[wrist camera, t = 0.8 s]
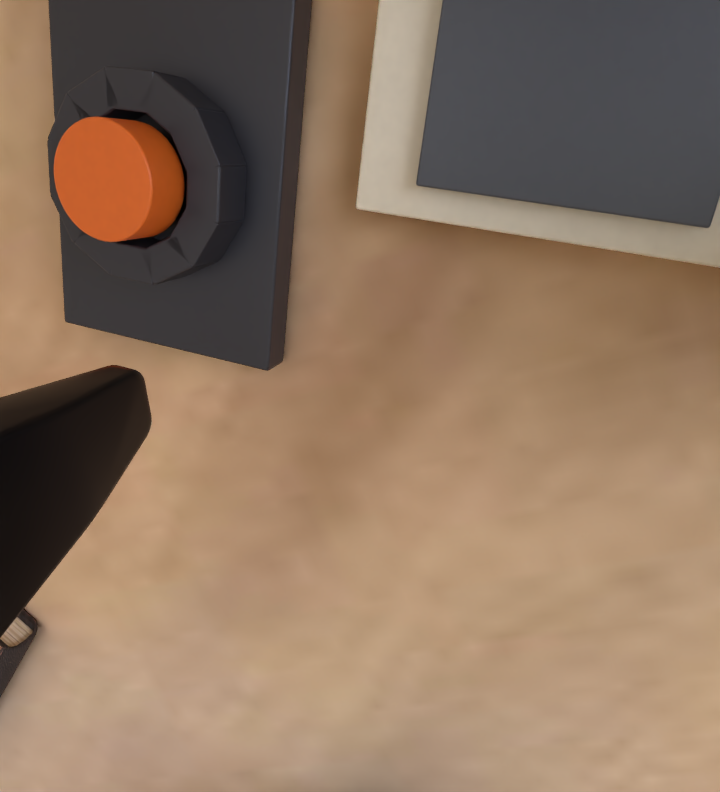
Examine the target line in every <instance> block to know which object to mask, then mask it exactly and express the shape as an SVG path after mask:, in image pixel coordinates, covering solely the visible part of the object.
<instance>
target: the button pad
mask: <svg viewBox="0 0 720 792" xmlns="http://www.w3.org/2000/svg"><path fill="white" fill-rule="evenodd" d="M311 4H312V0H49V18H50V38H51V57H52V77H53V96H54V116H55V122H54V124H53V127H52V129H51V132H50V134H49V137H48V160H49V178H50V192H51V197H52V199H53V201H54V203H55V206H56V208H57V210H58V212H59V214H60V233H61V252H62V272H63V292H64V311H65V321H66V322H68V323H72V324H76V325H80V326H85V327H89V328H93V329H97V330H101V331H105V332H109V333H114V334H118V335H122V336H126V337H130V338H134V339H138V340H143V341H147V342H151V343H155V344H159V345H163V346H167V347H172V348H176V349H180V350H184V351H188V352H192V353H196V354H201V355H205V356H209V357H213V358H217V359H221V360H225V361H230V362H234V363H238V364H242V365H246V366H250V367H254V368H259V369H263V370H270V369H272V368H273V367H275V366H276V365H278V364H280V363H281V362H282V361H283V354H284V342H285V329H286V317H287V304H288V292H289V279H290V267H291V254H292V242H293V229H294V217H295V204H296V192H297V179H298V167H299V154H300V142H301V129H302V117H303V104H304V92H305V79H306V67H307V54H308V42H309V29H310V17H311ZM94 116H95V117H108V118H117V119H127V120H136V121H141V122H144V123H146V124H149V125H151V126H152V127H154V128H156V129H157V130H158V131H160V132H161V133H162V134H163V135H164V136H165V137H166V138H167V139H168V141H169V142H170V143H171V145H172V146H173V148H174V149H175V151H176V153H177V155H178V157H179V160H180V162H181V165H182V169H183V174H184V181H185V192H184V199H183V204H182V207H181V210H180V212H179V214H178V216H177V218H176V219H175V221H174V222H173V223H172V225H171V226H170V227H169V228H167V229H166V230H165V231H163V232H162V233H160V234H158V235H155V236H151V237H146V238H139V239H133V240H126V241H119V242H105V241H101V240H98V239H95V238H93V237H91V236H89V235H88V234H86V233H85V232H83V231H82V230H81V229H79V228H78V227H77V226H76V225H75V224H74V222H73V221H72V220H71V219H70V218H69V216H68V215H67V213H66V212H65V210H64V208H63V206H62V204H61V202H60V199H59V197H58V193H57V190H56V186H55V180H54V158H55V153H56V149H57V146H58V144H59V142H60V140H61V138H62V136H63V135H64V133H65V132H66V131H67V129H68V128H69V127H70V126H72V125H73V124H74V123H76V122H77V121H79V120H81V119H84V118H87V117H94Z"/></svg>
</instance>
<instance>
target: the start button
mask: <svg viewBox="0 0 720 792" xmlns="http://www.w3.org/2000/svg"><path fill="white" fill-rule="evenodd" d="M54 180H55V186H56V190H57V193H58V197H59V199H60V202H61V204H62V206H63V208H64V210H65V212H66V213H67V215H68V216H69V218H70V219H71V220H72V221H73V222H74V224H75V225H76V226H77V227H78V228H79V229H81V230H82V231H83V232H85V233H86V234H88V235H89V236H91V237H93V238H95V239H98V240H101V241H105V242H119V241H126V240H133V239H139V238H146V237H151V236H155V235H158V234H160V233H162V232H163V231H165V230H166V229H167V228H169V227H170V226H171V225H172V223H173V222H174V221H175V219H176V218H177V216H178V214H179V212H180V210H181V207H182V204H183V199H184V192H185V181H184V174H183V169H182V165H181V162H180V160H179V157H178V155H177V153H176V151H175V149H174V148H173V146H172V145H171V143H170V142H169V141H168V139H167V138H166V137H165V136H164V135H163V134H162V133H161V132H160V131H158V130H157V129H156V128H154V127H152V126H151V125H149V124H146V123H144V122H141V121H136V120H127V119H117V118H108V117H95V116H94V117H87V118H84V119H81V120H79V121H77V122H76V123H74V124H73V125H72V126H70V127H69V128H68V129H67V131H66V132H65V133H64V135H63V136H62V138H61V140H60V142H59V144H58V146H57V149H56V153H55V158H54Z"/></svg>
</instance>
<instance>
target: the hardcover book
mask: <svg viewBox="0 0 720 792" xmlns="http://www.w3.org/2000/svg"><path fill="white" fill-rule="evenodd" d="M36 632H37V623H36V620H35V619H34V618H33V617H31V616H30V615H29V614H28V613H27V612H26V611H24V610H22V611H21V613H20V614H19V615H18V616H17V618H16V619H15V620H14V621H13V623H12V624H11V625H10V626H9V628H8V629H7V630H6V632H5V633H4V634H3V635H2V637H1V638H0V697H1V695H2V693H3V691H4V690H5V688H6V686H7V684H8V682H9V681H10V679H11V677H12V675H13V674H14V672H15V670H16V668H17V666H18V665H19V663H20V661H21V659H22V658H23V656H24V654H25V652H26V651H27V649H28V647H29V645H30V643H31V642H32V640H33V638H34V636H35V635H36Z"/></svg>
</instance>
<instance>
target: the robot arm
mask: <svg viewBox="0 0 720 792" xmlns="http://www.w3.org/2000/svg"><path fill="white" fill-rule="evenodd" d="M150 427H151V412H150V407H149V401H148V396H147V391H146V385H145V381H144V378H143V376H142V375H141V373H140V372H138V371H136V370H133V369H129V368H125V367H122V366H117V365H110V366H106V367H103V368H100V369H96V370H93V371H89V372H86V373H83V374H79V375H76V376H72V377H69V378H66V379H62V380H59V381H55V382H52V383H49V384H45V385H42V386H38V387H35V388H32V389H28V390H25V391H21V392H18V393H15V394H11V395H8V396H4V397H1V398H0V638H1V637H2V635H3V634H4V633H5V632H6V630H7V629H8V628H9V626H10V625H11V624H12V623H13V621H14V620H15V619H16V618H17V616H18V615H19V614H20V613H21V611H22V610H23V609H24V607H25V606H26V605H27V604H28V602H29V601H30V600H31V599H32V597H33V596H34V595H35V593H36V592H37V591H38V590H39V588H40V587H41V586H42V585H43V583H44V582H45V581H46V580H47V578H48V577H49V576H50V574H51V573H52V572H53V571H54V569H55V568H56V567H57V566H58V564H59V563H60V562H61V561H62V559H63V558H64V557H65V555H66V554H67V553H68V552H69V550H70V549H71V548H72V547H73V545H74V544H75V543H76V541H77V540H78V539H79V538H80V536H81V535H82V534H83V533H84V531H85V530H86V529H87V527H88V526H89V525H90V523H91V522H92V521H93V519H94V518H95V516H96V515H97V513H98V512H99V510H100V509H101V507H102V506H103V504H104V503H105V501H106V500H107V498H108V497H109V495H110V493H111V492H112V490H113V489H114V487H115V486H116V484H117V482H118V481H119V479H120V478H121V476H122V474H123V473H124V471H125V470H126V468H127V467H128V465H129V463H130V462H131V460H132V459H133V457H134V456H135V454H136V452H137V451H138V449H139V448H140V446H141V445H142V443H143V441H144V440H145V438H146V437H147V435H148V433H149V430H150Z"/></svg>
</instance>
